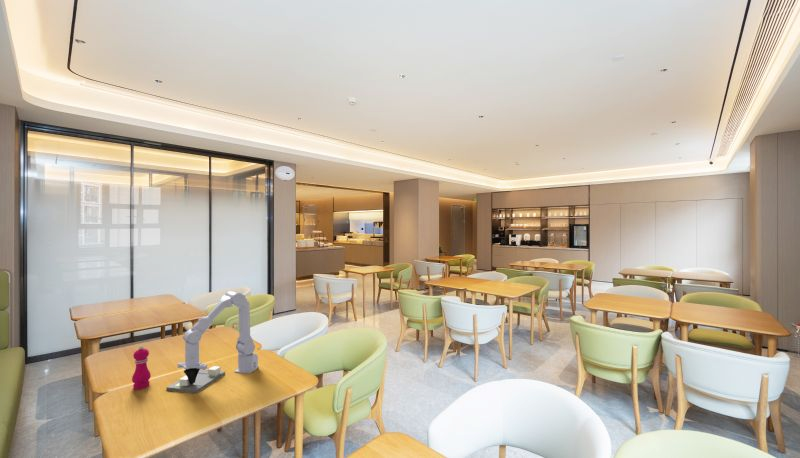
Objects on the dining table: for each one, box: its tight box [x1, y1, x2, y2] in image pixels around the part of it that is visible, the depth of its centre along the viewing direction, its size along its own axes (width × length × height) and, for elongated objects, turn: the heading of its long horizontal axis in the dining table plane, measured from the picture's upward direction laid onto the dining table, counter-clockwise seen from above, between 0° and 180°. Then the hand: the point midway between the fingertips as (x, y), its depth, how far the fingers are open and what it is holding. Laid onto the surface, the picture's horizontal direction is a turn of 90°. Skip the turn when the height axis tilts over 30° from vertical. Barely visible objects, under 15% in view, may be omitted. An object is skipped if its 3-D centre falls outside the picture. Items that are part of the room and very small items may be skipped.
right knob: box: [207, 365, 222, 376], centre depth 173 cm, size 4×4×3 cm
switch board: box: [166, 369, 226, 394], centre depth 168 cm, size 16×20×2 cm
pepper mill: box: [131, 345, 151, 391], centre depth 163 cm, size 7×7×20 cm
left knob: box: [178, 374, 190, 386], centre depth 163 cm, size 4×4×3 cm
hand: (192, 383), depth 162 cm, fingers closed
